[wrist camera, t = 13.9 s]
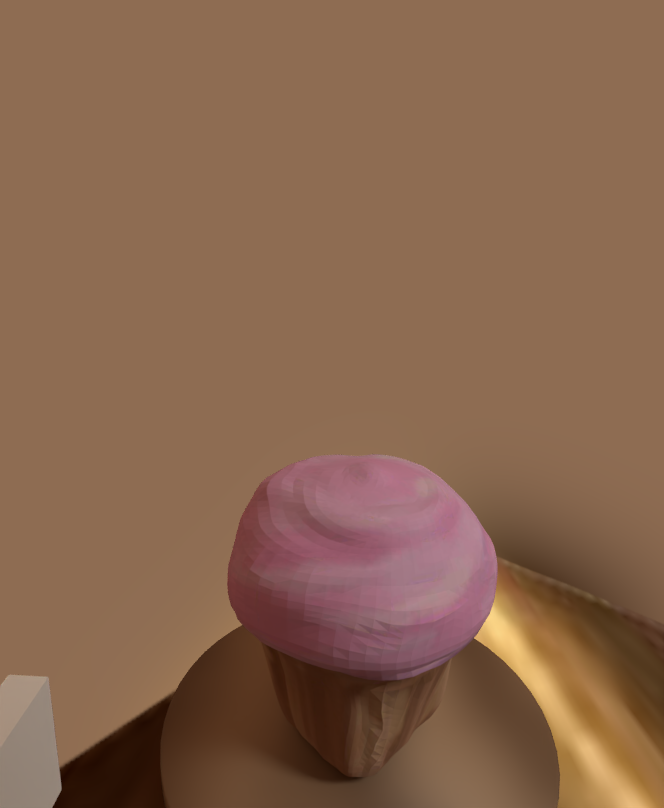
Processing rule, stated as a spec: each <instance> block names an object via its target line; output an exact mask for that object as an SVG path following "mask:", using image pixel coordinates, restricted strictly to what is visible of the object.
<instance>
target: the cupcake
mask: <svg viewBox="0 0 664 808" xmlns="http://www.w3.org/2000/svg"><path fill="white" fill-rule="evenodd" d="M496 583H497V559H496V554H495V550H494V546H493V543H492V541H491V539H490V537H489V536H488V534H487V533H486V531H485V530H484V528H483V527H482V526H481V524H480V522H479V521H478V519H477V517H476V515H475V514H474V513H473V512H472V510H471V509H470V507H469V506H468V505H467V503H466V502H465V501H464V500H463V499H462V498H461V497H460V496H459V495H458V494H457V493H456V492H455V491H454V490H453V489H452V488H451V487H450V486H449V485H448V484H446V483H445V482H444V481H443V480H442V479H441V478H440V477H439V476H437V475H436V474H434V473H433V472H431V471H430V470H428V469H427V468H425V467H423V466H422V465H419V464H416V463H413V462H411V461H408V460H405V459H401V458H398V457H393V456H386V455H375V454H374V455H366V456H347V455H327V456H317V457H312V458H308V459H306V460H302V461H299V462H296V463H293V464H291V465H288V466H286V467H285V468H283V469H281V470H280V471H278V472H276V473H274V474H272V475H271V476H269V477H267V478H266V479H265V480H264V481H263V482H262V483H261V484H260V485H259V487H258V488H257V490H256V491H255V493H254V495H253V497H252V499H251V501H250V502H249V504H248V506H247V508H246V509H245V511H244V513H243V515H242V517H241V519H240V523H239V527H238V530H237V534H236V539H235V542H234V546H233V550H232V554H231V558H230V562H229V567H228V583H227V585H228V595H229V600H230V603H231V606H232V608H233V609H234V611H235V613H236V615H237V619H238V620H239V621H240V622H241V624H242V625H243V626H244V627H245V628H246V629H247V630H248V631H249V632H250V633H252V634H253V635H254V636H255V637H256V638H257V639H258V640H259V641H260V642H261V644H262V647H263V651H264V654H265V658H266V661H267V665H268V668H269V672H270V675H271V679H272V683H273V687H274V690H275V693H276V696H277V699H278V702H279V705H280V707H281V710H282V712H283V713H284V715H285V717H286V719H287V720H288V721H289V722H290V723H291V724H292V725H293V726H294V727H296V728H297V730H298V731H299V732H300V734H301V735H302V737H304V738H305V739H306V740H307V741H308V742H309V743H310V744H311V745H312V746H313V747H314V748H315V749H316V750H317V751H318V752H319V754H320V755H321V756H322V758H323V759H324V760H326V761H327V762H329V763H330V764H331V765H333V766H334V767H336V768H337V769H338V770H339V771H340V772H341V773H343V774H344V775H346V776H348V777H369V776H373V775H375V774H376V773H377V772H378V771H379V770H380V769H381V768H382V767H383V766H384V765H385V764H386V763H387V762H388V761H389V760H390V758H391V757H392V756H393V755H394V754H395V753H397V752H398V751H399V750H400V749H401V748H402V747H403V746H404V745H405V744H406V743H407V742H408V741H409V739H410V737H411V736H412V734H413V732H414V731H415V730H416V729H417V728H418V727H419V726H420V725H422V724H423V723H424V722H425V721H426V720H428V719H429V718H430V717H431V716H432V715H433V713H434V712H435V711H436V709H437V708H438V707H439V705H440V703H441V701H442V698H443V695H444V692H445V688H446V684H447V680H448V675H449V669H450V664H451V659H452V657H454V656H455V655H457V654H458V653H459V652H460V651H461V650H462V649H464V648H465V647H466V646H467V645H468V644H469V643H470V642H471V641H472V639H473V638H474V637H475V636H476V635H477V633H478V632H479V630H480V628H481V627H482V625H483V623H484V622H485V620H486V619H487V617H488V615H489V614H490V611H491V608H492V605H493V602H494V597H495V591H496Z"/></svg>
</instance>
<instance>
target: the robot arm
mask: <svg viewBox="0 0 664 808" xmlns="http://www.w3.org/2000/svg"><path fill="white" fill-rule="evenodd" d="M61 790H62V788H61V779H60V770H59V762H58V753H57V745H56V736H55V728H54V719H53V710H52V702H51V693H50V685H49V677H44V676H24V675H8V676H7V677H6V679H5V680H4V681H3V683H2V684H1V685H0V808H52V807H53V805H54V803H55V801H56V799H57V797H58V796H59V794H60V792H61Z"/></svg>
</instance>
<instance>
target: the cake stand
mask: <svg viewBox="0 0 664 808" xmlns="http://www.w3.org/2000/svg"><path fill="white" fill-rule="evenodd" d="M160 766H161V783H162V792H163V799H164V805H165V808H557V805H558V800H559V782H560V772H559V764H558V756H557V750H556V747H555V743H554V740H553V736H552V733H551V730H550V727H549V725H548V723H547V721H546V718H545V716H544V714H543V712H542V710H541V708H540V706H539V705H538V703H537V702H536V700H535V698H534V697H533V695H532V693H531V692H530V691H529V689H528V688H527V687H526V685H525V684H524V683H523V682H522V680H521V679H520V678H519V677H518V675H517V674H516V673H515V672H514V671H513V670H512V669H511V668H510V667H509V666H508V665H507V664H506V663H505V662H504V661H503V660H502V659H501V658H499V657H498V656H497V655H496V654H495V653H493V652H492V651H491V650H490V649H489V648H487V647H486V646H484V645H483V644H481V643H480V642H479V641H477V640H476V639H474V638H473V639H472V641H471V642H470V643H469V644H468V645H467V646H466V647H465V648H464V649H462V650H461V651H460V652H459V653H458V654H457V655H455V656H454V657H452V659H451V664H450V669H449V675H448V680H447V684H446V688H445V692H444V695H443V698H442V701H441V703H440V705H439V707H438V708H437V709H436V711H435V712H434V713H433V715H432V716H431V717H430V718H429V719H428V720H426V721H425V722H424V723H423V724H422V725H420V726H419V727H418V728H417V729H416V730H415V731H414V732H413V734H412V736H411V737H410V739H409V741H408V742H407V743H406V744H405V745H404V746H403V747H402V748H401V749H400V750H399V751H398V752H397V753H395V754H394V755H393V756H392V757H391V758H390V760H389V761H388V762H387V763H386V764H385V765H384V766H383V767H382V768H381V769H380V770H379V771H378V772H377V773H376V774H375V775H373V776H369V777H348V776H346V775H344V774H343V773H341V772H340V771H339V770H338V769H337V768H336V767H334V766H333V765H331V764H330V763H329V762H327V761H326V760H324V759H323V758H322V756H321V755H320V754H319V752H318V751H317V750H316V749H315V748H314V747H313V746H312V745H311V744H310V743H309V742H308V741H307V740H306V739H305V738H304V737H302V735H301V734H300V732H299V731H298V730H297V728H296V727H294V726H293V725H292V724H291V723H290V722H289V721H288V720H287V719H286V717H285V715H284V713H283V712H282V710H281V707H280V705H279V702H278V699H277V696H276V693H275V690H274V687H273V683H272V679H271V675H270V672H269V668H268V665H267V661H266V658H265V654H264V651H263V647H262V644H261V642H260V641H259V640H258V639H257V638H256V637H255V636H254V635H253V634H252V633H250V632H249V631H248V630H247V629H246V628H245V627H244V626H243V625H242V626H240V627H238V628H236V629H235V630H233V631H232V632H230V633H229V634H227V635H226V636H224V637H223V638H222V639H220V640H218V641H217V642H216V643H215V644H214V645H213V646H211V647H210V648H209V649H208V650H207V651H206V652H205V653H204V654H203V655H202V656H201V657H200V658H199V659H198V660H197V661H196V662H195V663H194V665H193V666H192V667H191V668H190V670H189V671H188V672H187V674H186V675H185V677H184V678H183V680H182V681H181V682H180V684H179V686H178V688H177V690H176V692H175V694H174V696H173V698H172V700H171V702H170V705H169V708H168V711H167V714H166V717H165V720H164V725H163V731H162V737H161V755H160Z"/></svg>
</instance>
